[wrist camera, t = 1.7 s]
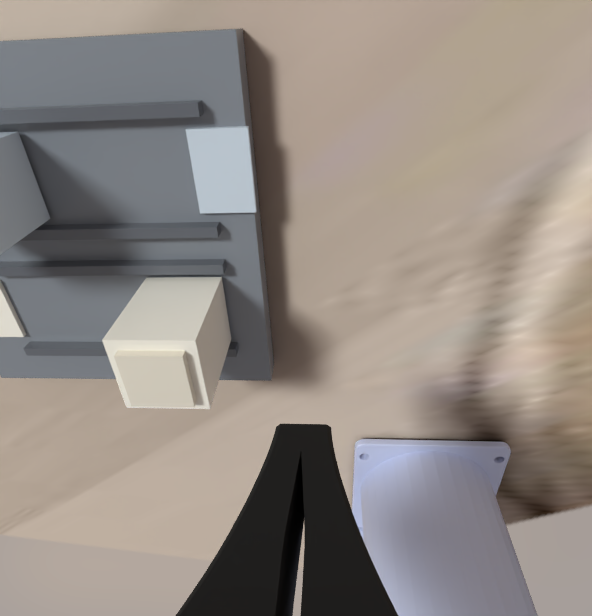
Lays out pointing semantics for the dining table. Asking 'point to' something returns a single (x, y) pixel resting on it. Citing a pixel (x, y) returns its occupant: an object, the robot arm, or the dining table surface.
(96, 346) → the switch panel
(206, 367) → the cream switch
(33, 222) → the grey switch
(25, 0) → the dining table surface
